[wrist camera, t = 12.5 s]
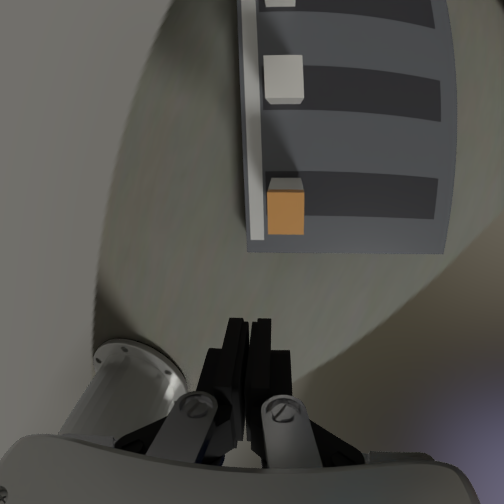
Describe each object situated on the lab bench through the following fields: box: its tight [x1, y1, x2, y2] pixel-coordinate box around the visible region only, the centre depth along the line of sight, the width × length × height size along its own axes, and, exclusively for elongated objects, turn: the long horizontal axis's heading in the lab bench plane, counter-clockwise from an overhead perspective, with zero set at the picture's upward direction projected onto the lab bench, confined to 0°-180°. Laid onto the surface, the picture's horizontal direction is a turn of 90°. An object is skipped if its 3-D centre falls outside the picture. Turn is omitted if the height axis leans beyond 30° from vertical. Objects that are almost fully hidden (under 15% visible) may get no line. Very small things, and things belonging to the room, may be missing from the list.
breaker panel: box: [237, 0, 457, 254], centre depth 17 cm, size 24×16×8 cm, turn 2°
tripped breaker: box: [267, 178, 304, 235], centre depth 19 cm, size 2×2×5 cm
